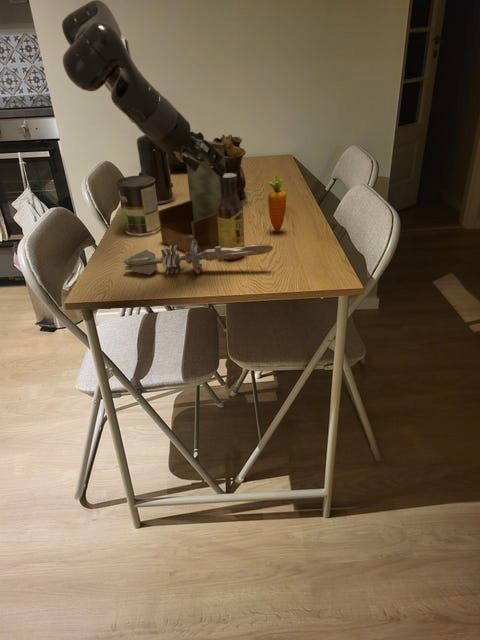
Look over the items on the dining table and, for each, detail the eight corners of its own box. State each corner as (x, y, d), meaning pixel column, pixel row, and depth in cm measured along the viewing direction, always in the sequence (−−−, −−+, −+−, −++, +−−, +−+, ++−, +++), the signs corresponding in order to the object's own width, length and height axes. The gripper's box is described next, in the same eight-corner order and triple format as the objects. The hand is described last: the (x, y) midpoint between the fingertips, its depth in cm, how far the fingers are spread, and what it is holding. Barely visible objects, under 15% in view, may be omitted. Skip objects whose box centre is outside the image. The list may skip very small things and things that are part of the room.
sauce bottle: (242, 261, 115) (238, 179, 104) (217, 260, 116) (211, 179, 105) (247, 250, 120) (244, 171, 110) (223, 249, 121) (218, 171, 111)
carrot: (281, 236, 127) (281, 180, 119) (265, 233, 129) (264, 178, 122) (289, 230, 131) (290, 175, 123) (273, 227, 133) (273, 173, 125)
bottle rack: (162, 243, 127) (149, 146, 114) (195, 230, 134) (187, 137, 121) (196, 257, 118) (186, 153, 105) (230, 242, 125) (224, 144, 112)
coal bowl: (197, 160, 203) (193, 113, 194) (214, 170, 188) (210, 119, 178) (152, 166, 197) (145, 118, 187) (165, 178, 181) (159, 126, 171)
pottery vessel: (214, 186, 169) (209, 127, 159) (244, 185, 169) (242, 126, 159) (214, 209, 148) (209, 143, 137) (248, 207, 148) (246, 141, 138)
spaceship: (271, 248, 101) (270, 222, 106) (115, 266, 106) (120, 240, 110) (275, 272, 108) (273, 247, 112) (128, 288, 112) (132, 263, 116)
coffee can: (129, 238, 130) (120, 188, 123) (122, 226, 139) (113, 178, 131) (165, 231, 134) (158, 182, 126) (156, 220, 142) (149, 173, 134)
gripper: (130, 135, 95) (181, 180, 107) (175, 143, 86) (224, 191, 99) (148, 103, 95) (196, 151, 108) (194, 108, 86) (241, 160, 99)
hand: (209, 170), depth 103 cm, fingers open, 8 cm apart
